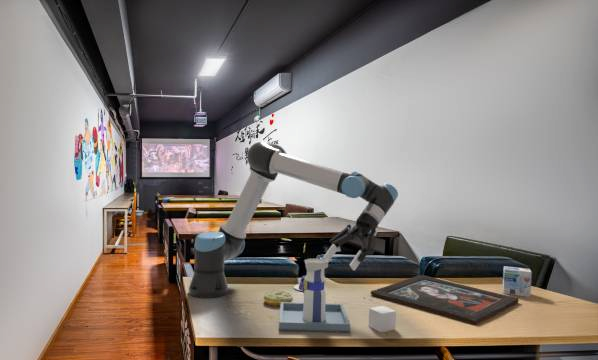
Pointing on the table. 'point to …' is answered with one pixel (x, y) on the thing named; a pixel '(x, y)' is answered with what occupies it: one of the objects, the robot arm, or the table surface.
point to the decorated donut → (277, 297)
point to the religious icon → (446, 298)
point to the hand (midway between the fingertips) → (338, 264)
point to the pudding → (301, 285)
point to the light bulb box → (517, 281)
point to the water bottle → (314, 290)
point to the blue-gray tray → (294, 322)
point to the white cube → (382, 318)
